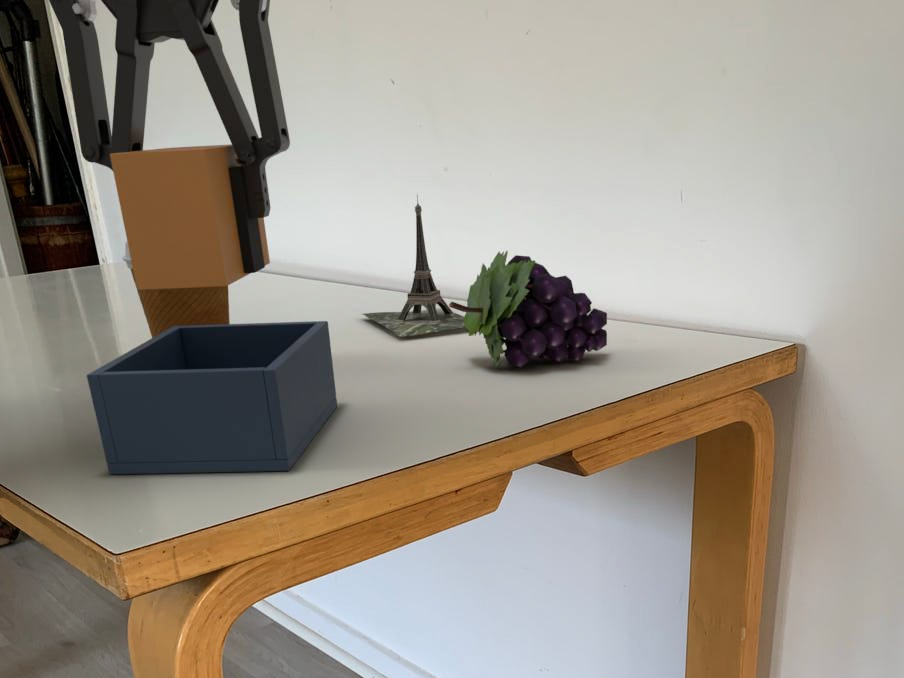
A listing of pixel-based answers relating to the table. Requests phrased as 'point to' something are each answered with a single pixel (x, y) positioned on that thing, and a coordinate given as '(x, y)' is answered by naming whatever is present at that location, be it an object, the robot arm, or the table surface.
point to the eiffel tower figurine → (420, 300)
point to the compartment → (215, 398)
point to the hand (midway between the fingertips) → (207, 271)
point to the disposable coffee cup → (182, 305)
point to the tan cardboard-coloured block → (181, 216)
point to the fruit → (531, 313)
